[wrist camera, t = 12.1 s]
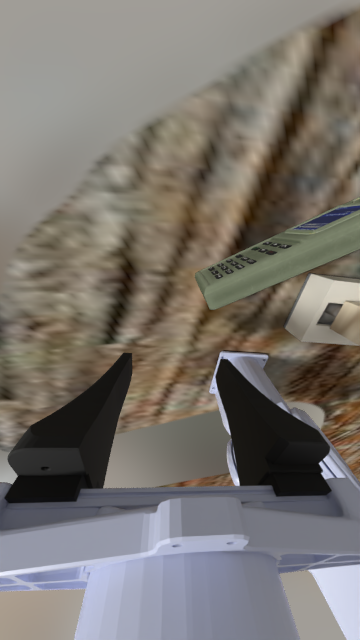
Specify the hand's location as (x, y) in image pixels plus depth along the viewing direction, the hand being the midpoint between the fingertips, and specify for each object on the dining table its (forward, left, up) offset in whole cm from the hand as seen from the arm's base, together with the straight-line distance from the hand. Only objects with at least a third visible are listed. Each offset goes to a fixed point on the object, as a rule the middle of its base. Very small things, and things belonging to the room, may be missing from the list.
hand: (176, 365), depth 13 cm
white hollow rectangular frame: (+3, -24, -10) cm, 26 cm away
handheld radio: (+11, -13, -11) cm, 20 cm away
